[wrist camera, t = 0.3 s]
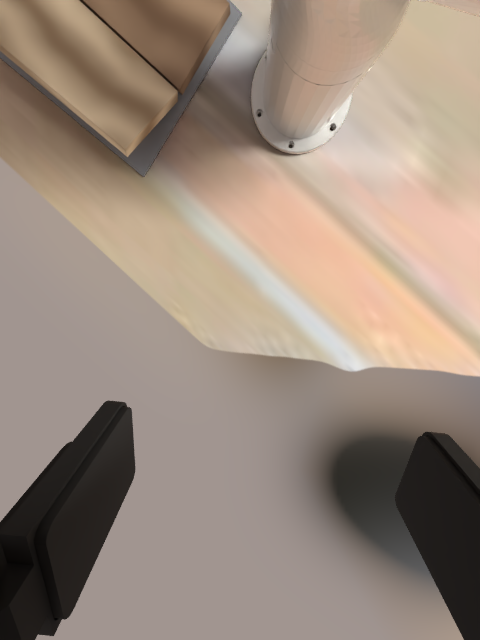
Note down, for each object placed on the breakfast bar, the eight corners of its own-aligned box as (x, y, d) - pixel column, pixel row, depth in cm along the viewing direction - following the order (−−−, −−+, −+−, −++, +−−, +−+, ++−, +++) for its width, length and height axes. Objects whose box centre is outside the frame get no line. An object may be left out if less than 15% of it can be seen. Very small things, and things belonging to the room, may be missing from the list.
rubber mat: (78, -155, 28) (75, -160, 28) (241, 15, 32) (241, 12, 32) (-2, 56, 35) (-4, 54, 34) (144, 176, 39) (143, 176, 38)
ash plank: (35, -29, 31) (28, -47, 30) (177, 101, 35) (177, 91, 33) (-28, 27, 30) (-39, 11, 28) (127, 157, 34) (125, 149, 32)
